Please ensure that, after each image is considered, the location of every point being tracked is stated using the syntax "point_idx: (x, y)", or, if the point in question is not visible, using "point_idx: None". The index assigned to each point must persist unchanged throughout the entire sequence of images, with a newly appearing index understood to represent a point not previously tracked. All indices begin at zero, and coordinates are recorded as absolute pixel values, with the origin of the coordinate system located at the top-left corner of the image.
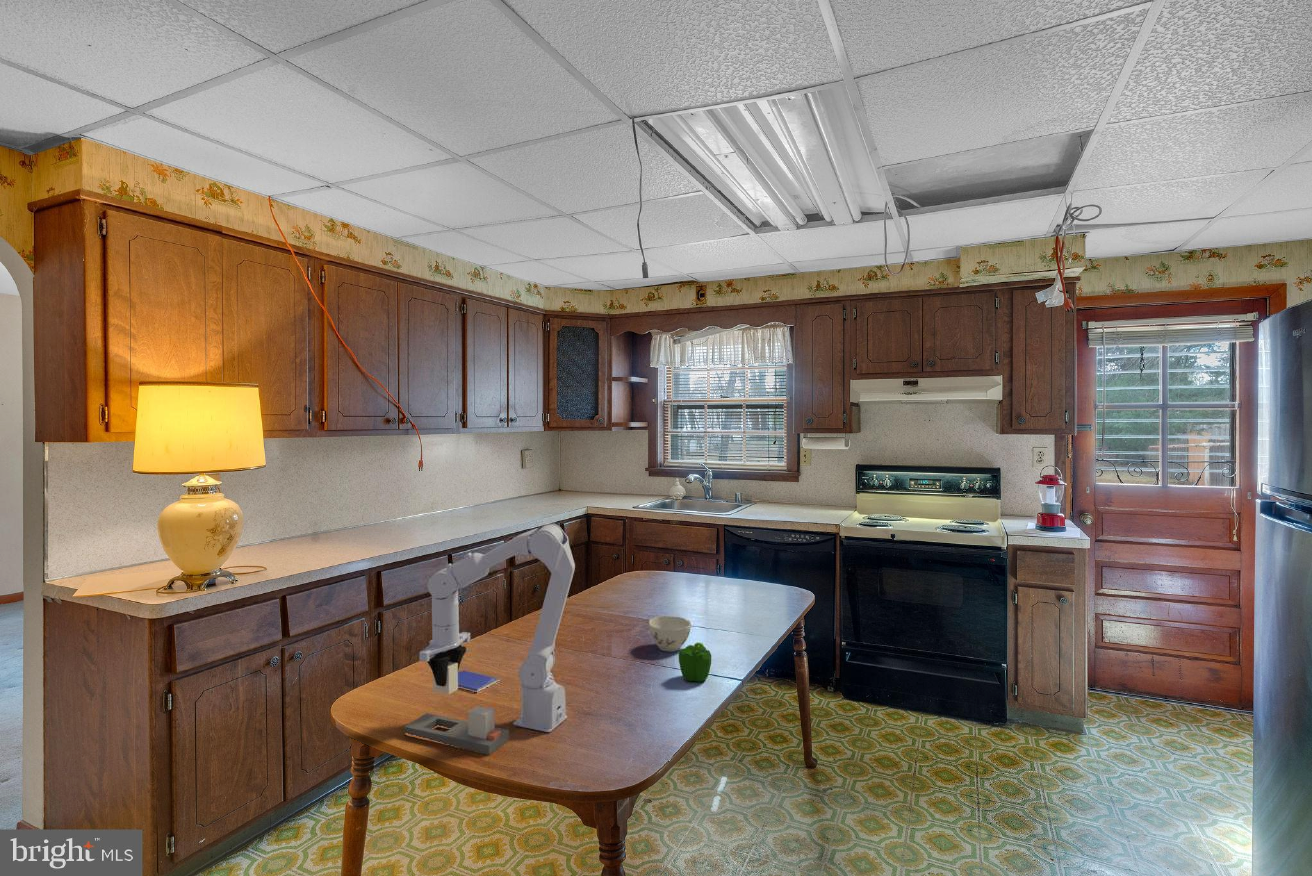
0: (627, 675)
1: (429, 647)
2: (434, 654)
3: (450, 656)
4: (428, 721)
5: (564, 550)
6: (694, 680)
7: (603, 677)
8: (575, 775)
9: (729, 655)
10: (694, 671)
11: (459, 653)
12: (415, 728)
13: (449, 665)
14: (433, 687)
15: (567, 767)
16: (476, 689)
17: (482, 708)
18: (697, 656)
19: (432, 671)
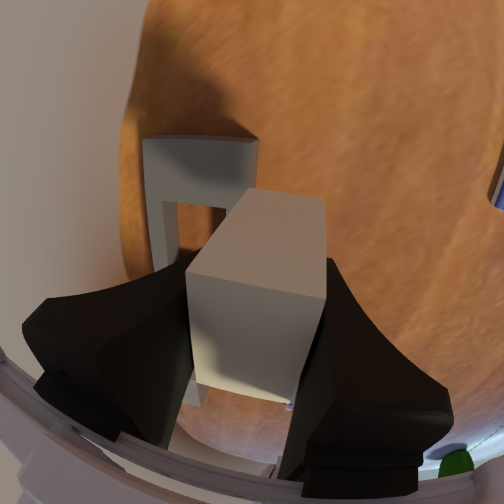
0: (492, 414)
1: (7, 422)
2: (52, 416)
3: (305, 404)
4: (196, 191)
5: None
6: (444, 458)
7: (498, 398)
8: (196, 423)
9: (499, 447)
10: (441, 470)
11: (280, 470)
12: (146, 182)
13: (230, 380)
14: (244, 194)
15: (206, 419)
16: (499, 204)
17: (190, 391)
18: None
19: (157, 272)
